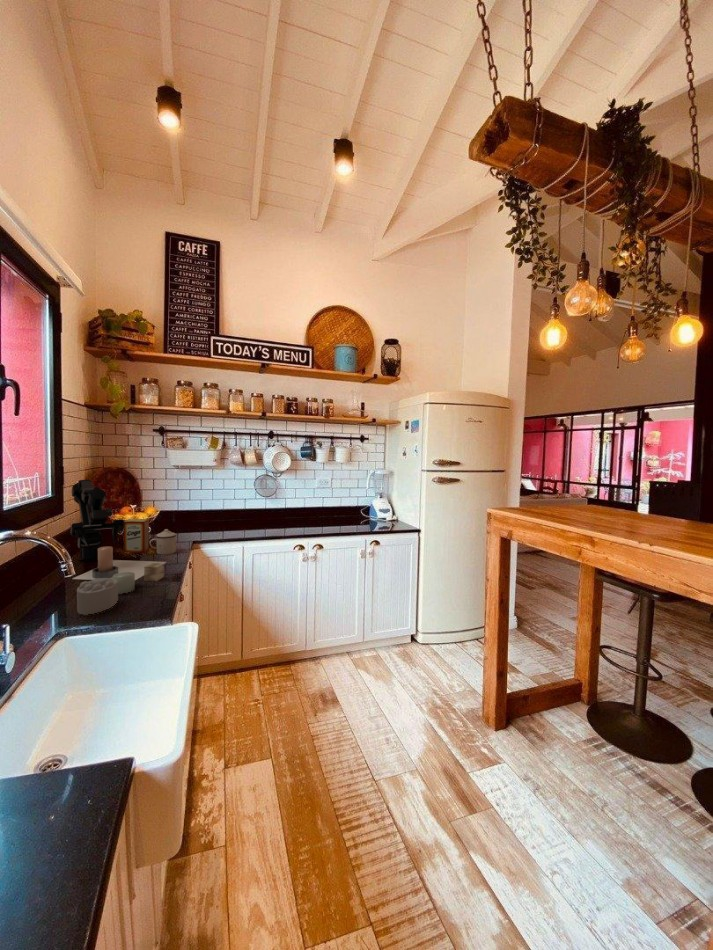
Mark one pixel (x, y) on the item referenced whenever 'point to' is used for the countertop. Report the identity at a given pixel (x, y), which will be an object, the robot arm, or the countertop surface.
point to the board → (122, 568)
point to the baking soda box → (136, 535)
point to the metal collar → (104, 573)
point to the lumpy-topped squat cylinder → (96, 595)
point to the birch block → (153, 571)
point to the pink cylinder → (105, 559)
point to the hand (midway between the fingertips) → (101, 544)
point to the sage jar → (125, 582)
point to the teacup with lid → (165, 542)
